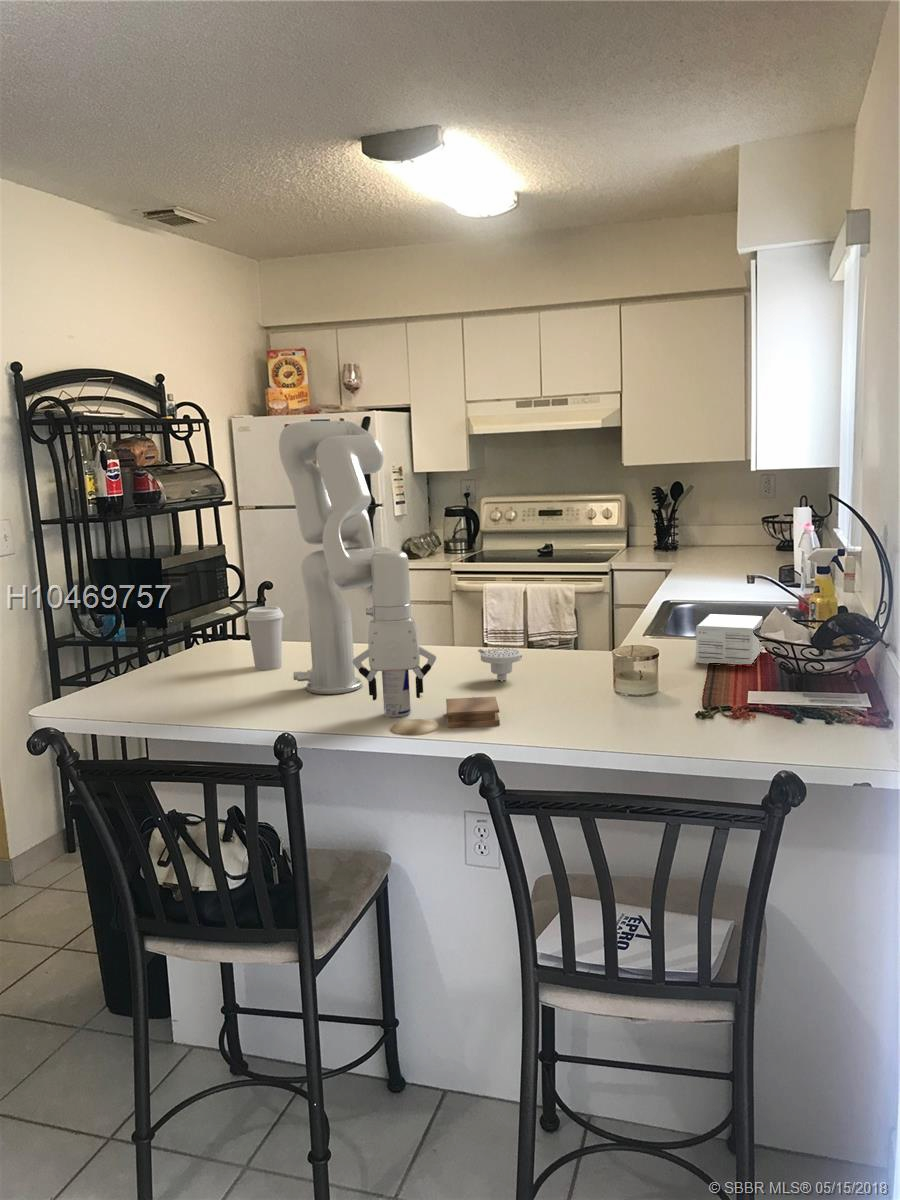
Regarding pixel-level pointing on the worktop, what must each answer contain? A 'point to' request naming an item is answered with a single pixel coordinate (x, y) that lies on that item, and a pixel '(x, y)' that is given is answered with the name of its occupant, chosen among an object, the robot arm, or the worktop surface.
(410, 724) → the cork coaster
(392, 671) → the energy drink
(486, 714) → the walnut stand
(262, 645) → the coffee cup
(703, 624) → the supplement box
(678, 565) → the worktop surface
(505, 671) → the showerhead
